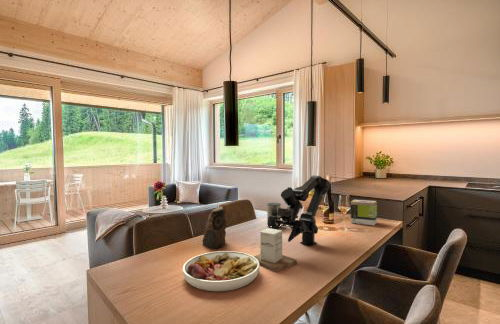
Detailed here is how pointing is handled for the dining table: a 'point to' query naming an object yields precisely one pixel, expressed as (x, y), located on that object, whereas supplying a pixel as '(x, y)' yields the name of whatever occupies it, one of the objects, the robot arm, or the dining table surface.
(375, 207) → the tea box
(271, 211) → the milk frother
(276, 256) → the supplement box
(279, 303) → the dining table surface
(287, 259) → the walnut board
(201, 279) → the bowl
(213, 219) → the owl
